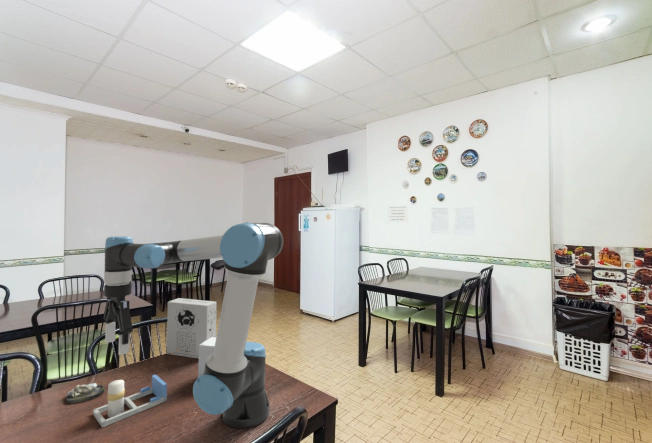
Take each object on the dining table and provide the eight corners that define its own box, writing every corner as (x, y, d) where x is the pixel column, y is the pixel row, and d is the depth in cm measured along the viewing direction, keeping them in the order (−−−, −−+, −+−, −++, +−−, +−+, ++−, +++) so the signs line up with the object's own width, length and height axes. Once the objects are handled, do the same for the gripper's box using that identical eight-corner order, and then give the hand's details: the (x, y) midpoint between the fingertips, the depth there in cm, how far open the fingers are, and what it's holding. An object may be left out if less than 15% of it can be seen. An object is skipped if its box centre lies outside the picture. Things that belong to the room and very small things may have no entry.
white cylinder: (126, 413, 102) (127, 382, 102) (109, 419, 99) (110, 388, 99) (121, 407, 105) (122, 378, 105) (105, 413, 102) (105, 383, 102)
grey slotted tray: (155, 390, 116) (155, 374, 116) (166, 400, 110) (167, 383, 110) (93, 414, 102) (93, 395, 102) (102, 427, 95) (102, 408, 95)
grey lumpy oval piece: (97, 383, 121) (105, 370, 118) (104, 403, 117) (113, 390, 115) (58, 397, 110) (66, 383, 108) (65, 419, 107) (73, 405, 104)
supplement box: (217, 385, 121) (218, 347, 120) (197, 382, 122) (198, 344, 122) (229, 374, 129) (230, 338, 129) (210, 371, 131) (211, 336, 131)
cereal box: (215, 353, 149) (216, 301, 149) (206, 360, 142) (207, 305, 142) (177, 347, 155) (178, 297, 155) (166, 354, 147) (167, 301, 147)
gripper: (145, 287, 97) (143, 355, 97) (118, 276, 113) (117, 334, 113) (117, 291, 91) (115, 363, 91) (93, 279, 107) (92, 340, 107)
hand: (116, 347), depth 102 cm, fingers open, 13 cm apart
